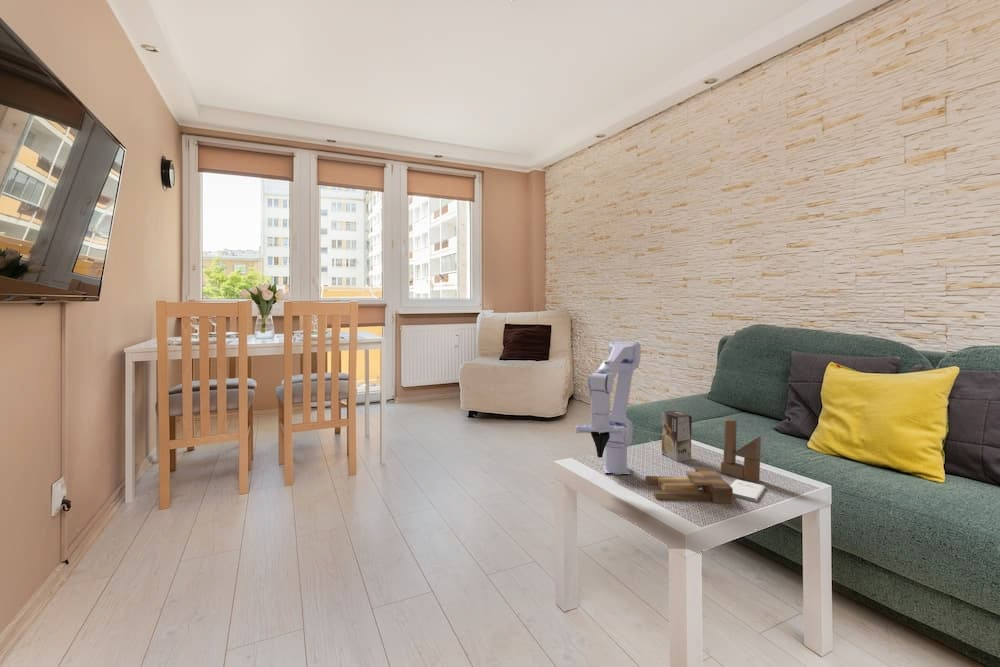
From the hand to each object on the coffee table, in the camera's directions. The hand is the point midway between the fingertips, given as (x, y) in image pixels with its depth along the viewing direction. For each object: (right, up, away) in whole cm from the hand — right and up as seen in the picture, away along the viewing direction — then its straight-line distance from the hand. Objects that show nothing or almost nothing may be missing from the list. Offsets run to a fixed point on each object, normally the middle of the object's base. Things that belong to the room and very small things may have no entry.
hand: (599, 456), depth 140 cm
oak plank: (+23, -10, -2) cm, 25 cm away
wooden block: (+47, -9, +8) cm, 48 cm away
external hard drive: (+43, -10, -4) cm, 44 cm away
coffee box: (+34, -8, +27) cm, 44 cm away
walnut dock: (+25, -10, -3) cm, 27 cm away
